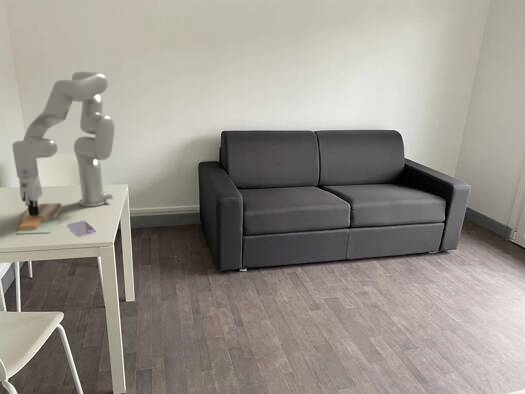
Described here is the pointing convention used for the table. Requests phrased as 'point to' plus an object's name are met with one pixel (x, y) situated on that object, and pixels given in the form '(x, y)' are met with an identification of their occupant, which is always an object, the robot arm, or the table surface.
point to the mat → (41, 228)
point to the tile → (31, 223)
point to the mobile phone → (82, 228)
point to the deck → (44, 211)
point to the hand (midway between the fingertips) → (34, 214)
